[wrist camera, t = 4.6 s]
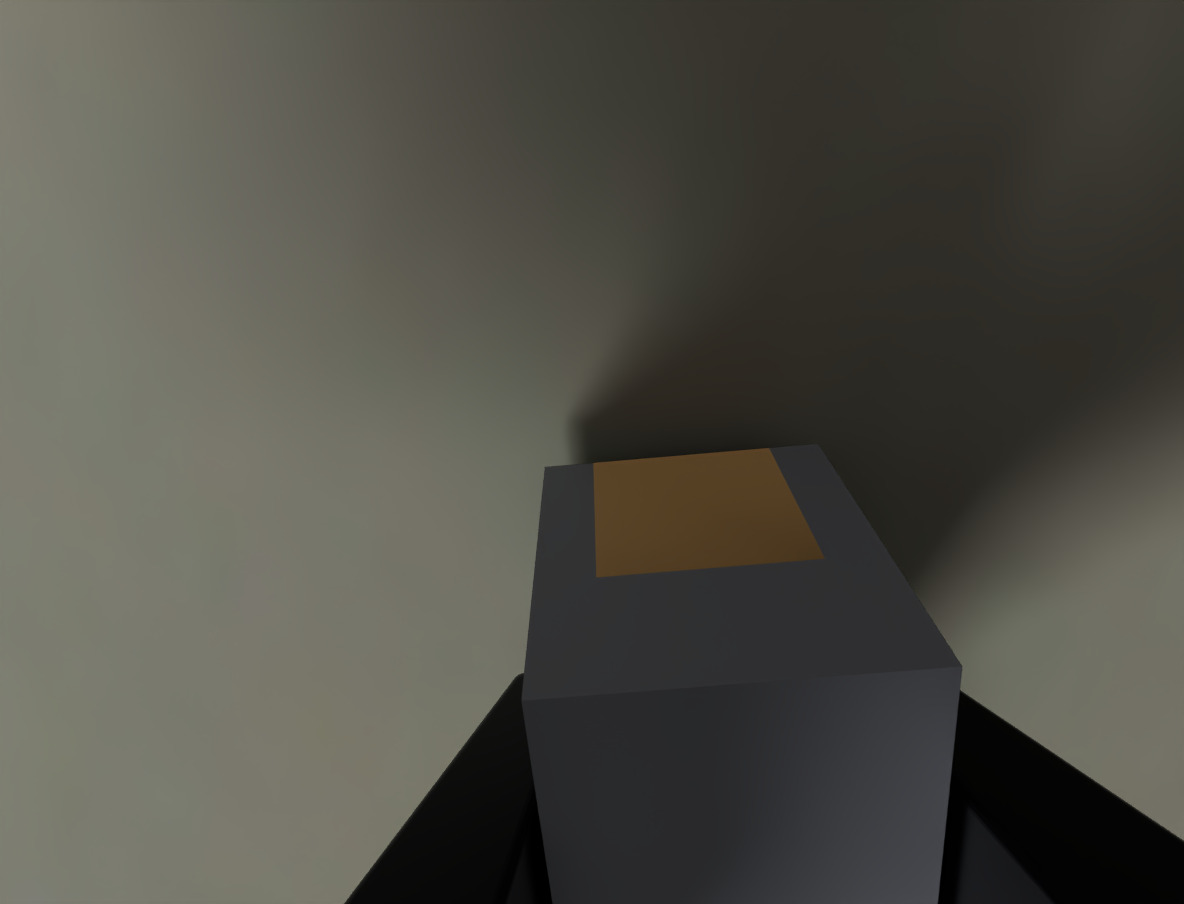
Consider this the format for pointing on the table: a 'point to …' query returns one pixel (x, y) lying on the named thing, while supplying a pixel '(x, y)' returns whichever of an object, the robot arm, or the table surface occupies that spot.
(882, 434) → the table surface
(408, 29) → the table surface
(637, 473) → the gray mallet
